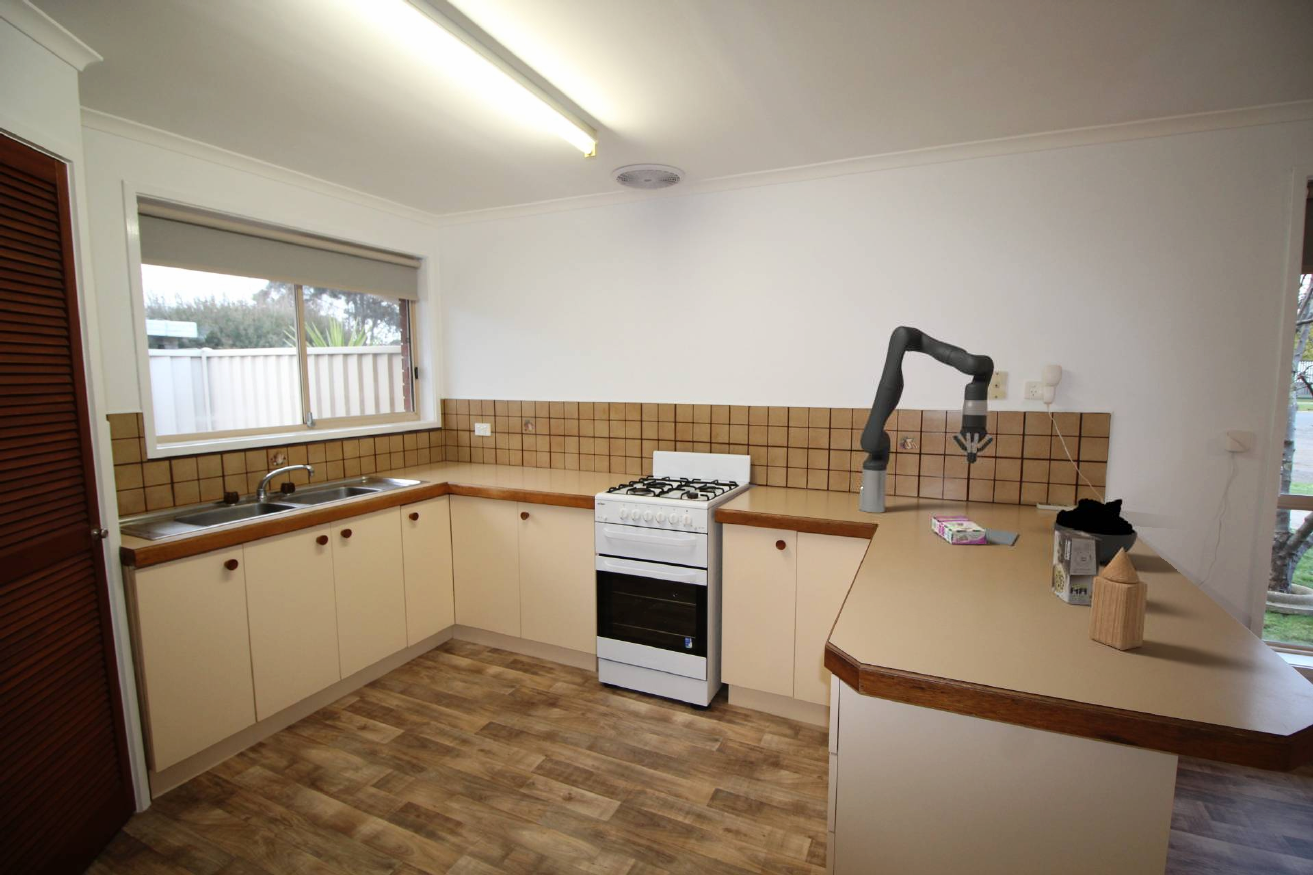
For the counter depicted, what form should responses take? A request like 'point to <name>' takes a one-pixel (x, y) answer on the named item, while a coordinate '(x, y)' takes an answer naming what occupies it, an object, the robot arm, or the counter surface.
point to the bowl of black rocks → (1099, 525)
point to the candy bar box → (958, 530)
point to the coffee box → (1075, 565)
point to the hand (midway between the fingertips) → (971, 463)
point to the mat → (1000, 536)
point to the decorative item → (1118, 605)
